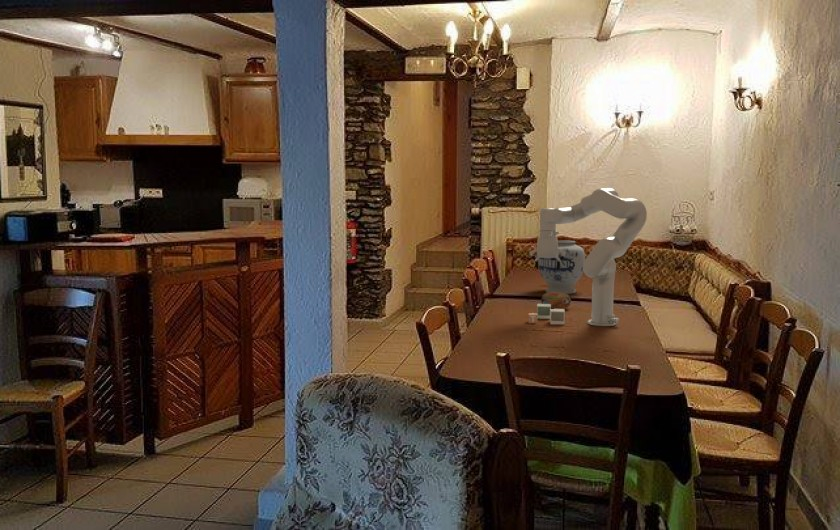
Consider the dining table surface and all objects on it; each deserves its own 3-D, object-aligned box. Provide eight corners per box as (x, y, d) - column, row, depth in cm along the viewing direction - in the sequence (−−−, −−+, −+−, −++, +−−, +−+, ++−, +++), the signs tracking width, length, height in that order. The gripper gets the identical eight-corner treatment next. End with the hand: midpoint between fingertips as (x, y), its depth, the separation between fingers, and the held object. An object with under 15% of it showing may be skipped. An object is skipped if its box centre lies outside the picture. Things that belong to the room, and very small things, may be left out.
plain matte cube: (550, 316, 356) (550, 304, 355) (550, 318, 350) (550, 306, 349) (537, 315, 357) (537, 303, 356) (536, 318, 351) (537, 306, 350)
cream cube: (564, 321, 343) (564, 309, 342) (564, 324, 336) (564, 311, 336) (550, 321, 344) (550, 308, 343) (550, 324, 337) (550, 311, 337)
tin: (540, 307, 379) (541, 291, 378) (542, 306, 382) (543, 290, 381) (569, 310, 372) (569, 293, 371) (571, 309, 375) (571, 292, 374)
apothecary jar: (530, 289, 440) (530, 239, 436) (570, 287, 448) (570, 238, 444) (551, 296, 414) (552, 243, 411) (593, 293, 422) (594, 241, 419)
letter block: (537, 321, 344) (537, 313, 343) (537, 323, 340) (537, 314, 339) (528, 321, 344) (528, 312, 344) (528, 323, 340) (528, 314, 340)
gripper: (565, 233, 355) (565, 268, 357) (529, 233, 357) (529, 268, 359) (566, 234, 348) (566, 270, 350) (529, 234, 350) (529, 270, 352)
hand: (547, 269), depth 354 cm, fingers open, 9 cm apart
